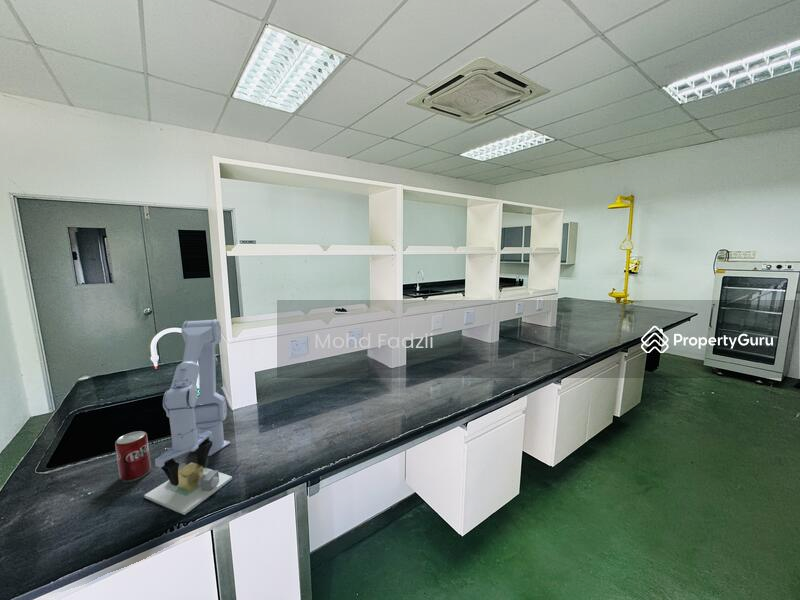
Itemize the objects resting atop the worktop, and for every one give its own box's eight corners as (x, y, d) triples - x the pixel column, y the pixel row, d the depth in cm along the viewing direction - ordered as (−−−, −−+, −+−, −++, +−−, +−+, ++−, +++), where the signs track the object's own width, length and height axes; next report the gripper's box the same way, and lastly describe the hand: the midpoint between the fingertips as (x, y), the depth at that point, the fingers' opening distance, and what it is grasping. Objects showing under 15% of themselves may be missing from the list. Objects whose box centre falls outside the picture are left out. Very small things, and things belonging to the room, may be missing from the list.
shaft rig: (144, 497, 86) (142, 484, 85) (194, 466, 99) (193, 454, 98) (184, 515, 80) (182, 500, 79) (232, 479, 93) (231, 466, 92)
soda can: (157, 466, 99) (152, 430, 97) (139, 482, 92) (133, 443, 90) (133, 466, 99) (128, 430, 97) (113, 483, 91) (107, 444, 90)
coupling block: (177, 488, 88) (175, 471, 87) (193, 478, 92) (191, 462, 91) (188, 492, 86) (186, 475, 85) (204, 481, 90) (202, 465, 89)
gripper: (165, 447, 79) (171, 497, 80) (218, 419, 92) (222, 462, 94) (147, 441, 81) (153, 489, 83) (201, 415, 95) (205, 457, 96)
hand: (188, 475), depth 89 cm, fingers open, 7 cm apart
